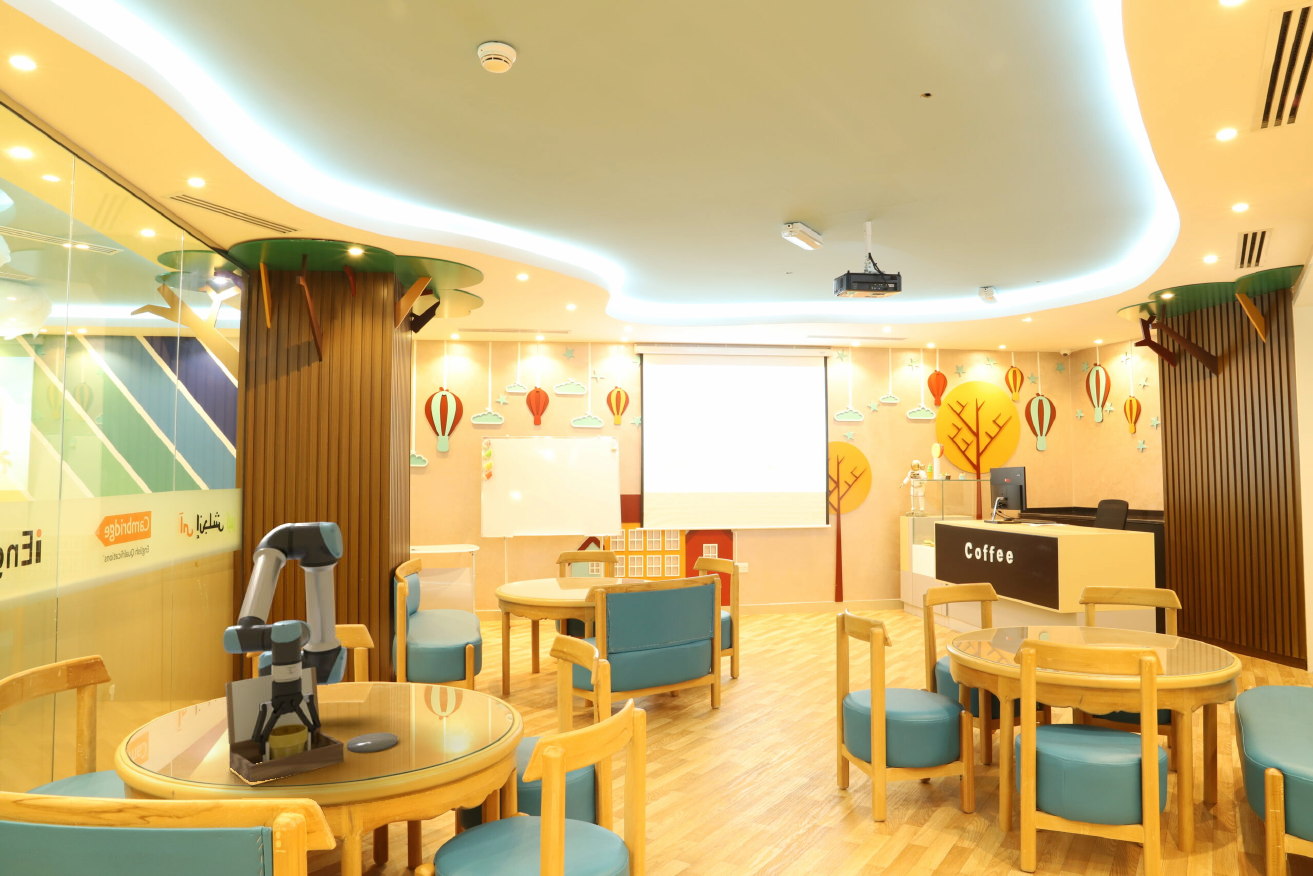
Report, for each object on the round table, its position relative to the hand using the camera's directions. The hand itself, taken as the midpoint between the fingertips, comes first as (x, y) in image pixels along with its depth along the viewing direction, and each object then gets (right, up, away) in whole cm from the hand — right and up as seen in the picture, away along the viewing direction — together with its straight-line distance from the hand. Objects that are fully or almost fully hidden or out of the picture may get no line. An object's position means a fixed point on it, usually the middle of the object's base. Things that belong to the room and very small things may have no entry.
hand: (287, 761), depth 221 cm
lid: (-7, +5, +7) cm, 11 cm away
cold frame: (0, -1, 0) cm, 1 cm away
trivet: (+18, -2, +16) cm, 24 cm away
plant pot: (0, -1, 0) cm, 2 cm away
